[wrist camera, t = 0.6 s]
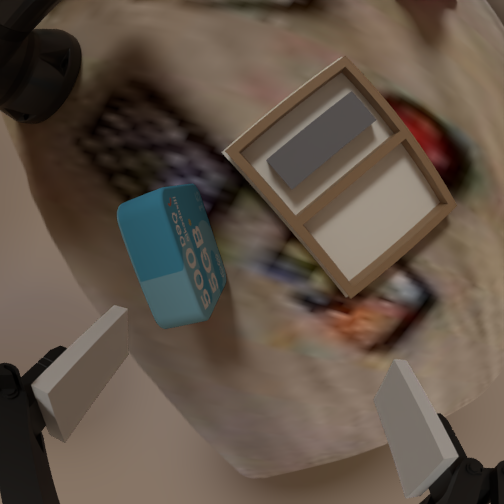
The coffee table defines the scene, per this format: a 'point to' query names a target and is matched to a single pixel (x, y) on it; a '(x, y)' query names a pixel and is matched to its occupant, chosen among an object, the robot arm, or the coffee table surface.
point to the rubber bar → (321, 140)
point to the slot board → (347, 181)
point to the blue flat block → (173, 254)
